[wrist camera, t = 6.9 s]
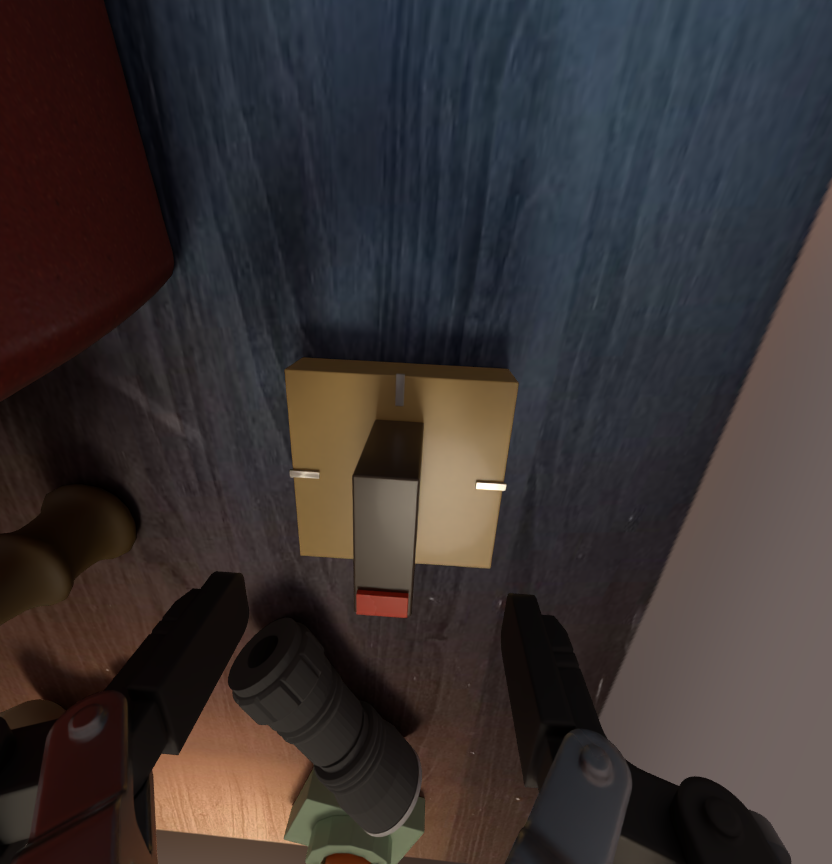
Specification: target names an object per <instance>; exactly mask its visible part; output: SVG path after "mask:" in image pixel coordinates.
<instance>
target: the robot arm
mask: <svg viewBox="0 0 832 864" xmlns="http://www.w3.org/2000/svg"><path fill="white" fill-rule="evenodd" d="M248 618H249V607H248V601H247V595H246V589H245V582H244V577H243V575H242V574H241V573H232V572H218V571H216V572H214V573H213V574H211V576H210V577H209V578H208V580H207V581H206V582H205V584H204V585H203V586H202V588H201V589H194V588H193V589H192V590H190V591H189V592H188V593H186V594H185V595H184V596H182V597H181V598H180V599H178V600H177V601H176V602H175V603H174V604H173V605H172V606H171V608H170V609H169V610H168V611H167V613H166V614H165V615H164V616H163V619H162V621H159V623H158V624H157V625H156V626H155V628H154V629H153V630H152V633H151V634H149V635H148V636H147V638H146V639H145V640H144V641H143V643H142V644H141V645H140V646H139V648H138V649H137V650H136V651H135V653H134V654H133V655H132V656H131V658H130V659H129V660H128V661H127V663H126V664H125V665H124V666H123V668H122V669H121V670H120V671H119V673H118V674H117V675H116V676H115V678H114V679H113V680H112V681H111V683H110V684H109V685H108V686H107V687H106V689H105V690H104V691H102V692H98V693H95V694H92V695H90V696H88V697H86V698H84V699H82V700H80V701H78V702H77V703H75V704H74V705H73V706H71V707H70V708H69V709H68V710H66V711H65V712H64V713H63V714H62V715H61V716H60V717H59V718H58V719H54V720H50V721H46V722H41V723H37V724H33V725H29V726H24V727H20V728H16V729H12V730H11V729H10V727H9V725H8V724H7V722H6V720H5V719H4V718H2V717H0V864H158V859H157V841H156V821H155V802H154V782H153V772H152V769H153V767H154V766H155V764H156V762H157V760H158V759H159V757H160V755H161V754H172V755H179V753H180V751H181V749H182V747H183V746H184V744H185V742H186V740H187V738H188V736H189V734H190V733H191V731H192V729H193V727H194V725H195V723H196V721H197V719H198V718H199V716H200V714H201V712H202V710H203V708H204V706H205V705H206V703H207V701H208V699H209V697H210V695H211V693H212V692H213V690H214V688H215V686H216V684H217V682H218V680H219V679H220V677H221V675H222V673H223V671H224V669H225V667H226V666H227V664H228V662H229V660H230V658H231V656H232V654H233V653H234V651H235V649H236V647H237V645H238V643H239V641H240V640H241V638H242V636H243V634H244V632H245V629H246V627H247V623H248ZM501 650H502V657H503V663H504V669H505V675H506V680H507V686H508V692H509V698H510V704H511V709H512V715H513V721H514V727H515V733H516V738H517V744H518V750H519V756H520V762H521V768H522V773H523V779H524V785H525V787H534V788H538V790H539V795H538V797H537V799H536V802H535V804H534V806H533V808H532V811H531V813H530V815H529V817H528V820H527V822H526V824H525V826H524V827H523V828H522V829H521V830H520V832H519V834H518V836H517V838H516V840H515V842H514V845H513V847H512V849H511V851H510V853H509V856H508V858H507V860H506V862H505V864H779V862H778V860H777V858H776V856H775V854H774V853H773V851H772V849H771V847H770V845H769V843H768V841H767V840H766V838H765V836H764V834H763V832H762V830H761V829H760V827H759V825H758V823H757V822H756V820H755V818H754V817H753V816H752V814H751V813H750V812H749V810H748V809H747V808H746V807H745V806H744V804H743V803H742V802H741V801H740V800H739V799H738V798H736V796H734V795H733V794H732V793H731V792H730V791H728V790H727V789H726V788H724V787H723V786H721V785H720V784H718V783H716V782H714V781H712V780H709V779H707V778H702V777H695V776H694V777H689V778H686V779H685V780H684V781H682V782H681V784H680V786H678V785H675V784H673V783H671V782H668V781H666V780H664V779H661V778H659V777H656V776H654V775H652V774H650V773H647V772H645V771H643V770H641V769H639V768H637V767H636V766H634V765H633V764H631V763H630V762H628V761H627V760H626V759H625V758H624V757H623V756H622V754H621V753H620V751H619V750H618V749H617V748H616V747H615V745H614V744H612V743H611V742H610V741H609V740H608V739H607V737H606V736H605V734H604V732H603V729H602V727H601V725H600V722H599V719H598V716H597V713H596V711H595V708H594V705H593V702H592V700H591V697H590V694H589V691H588V689H587V686H586V683H585V680H584V678H583V675H582V672H581V669H579V664H578V661H577V658H576V656H575V653H573V648H572V645H571V642H570V639H569V637H568V634H567V631H566V630H565V629H564V628H563V626H562V625H561V624H560V623H559V622H558V620H557V619H556V618H555V617H554V616H551V615H541V612H540V608H539V605H538V602H537V599H536V597H535V595H527V594H513V593H509V594H508V596H507V601H506V607H505V612H504V618H503V624H502V630H501ZM26 844H27V845H26Z"/></svg>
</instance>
